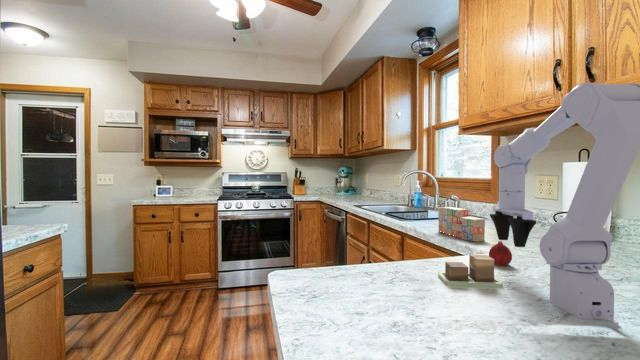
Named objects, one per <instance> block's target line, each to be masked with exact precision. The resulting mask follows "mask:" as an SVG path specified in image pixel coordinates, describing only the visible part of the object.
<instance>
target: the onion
mask: <svg viewBox="0 0 640 360" xmlns="http://www.w3.org/2000/svg"><path fill="white" fill-rule="evenodd" d="M497 242H498V243H496V244H494V245H492V247H490V249H489V251H488V256H489V257H491V258H492V259H494V265H496V266H501V267H505V266H507V265H509V264H510V263H511V262H512V260H513V253H512V252H511V250H510V248H509V247H508V246H507V245H505V244H504V243H503V240H498V241H497Z"/></svg>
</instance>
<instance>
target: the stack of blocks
mask: <svg viewBox="0 0 640 360" xmlns="http://www.w3.org/2000/svg"><path fill="white" fill-rule="evenodd" d="M485 226H486V219H485V218H482V217H481V218H479V217H475V216H469V209H468V208H461V207H452V206H440V207H438V232H439V231H441V232H444V233H447V234H450V235H454V236H456V237H455V238H458V237H460V238H459V239H461V238H463V239H462V240H465V239H466V240H465V241H468V240H470V241H469V242H472V241H476V242H484V241H485V231H486V230H485ZM447 234H446V235H447ZM450 235H449V236H450ZM454 236H453V237H454Z"/></svg>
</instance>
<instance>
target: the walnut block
mask: <svg viewBox="0 0 640 360" xmlns="http://www.w3.org/2000/svg"><path fill="white" fill-rule="evenodd" d="M444 265H445V269H444V270H445V277H446V278H447V279H448V280H449V281H468V273H469V266H467V265H466V264H465V263H463V262H462V261H445V262H444Z"/></svg>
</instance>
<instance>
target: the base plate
mask: <svg viewBox="0 0 640 360" xmlns="http://www.w3.org/2000/svg"><path fill="white" fill-rule="evenodd" d="M435 274H436V276H438V278H439V279H440V280H441V281H442V282H443V284H445V286H446V287H447V288H448V289H465V290H466V289H469V290H491V291H492V290H495V291H496V290H498V291H501V290H502V291H509V289H508V288H506V287H505V286H504V282H503V281H501V280H500V279H498V278H497V277H496V276H494V282H475V281H474V280H473V279H471V278H470V277H469V272H468V281H449V280H448V279H447V278H446V277H445V272H444V271H438V272H435Z"/></svg>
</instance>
